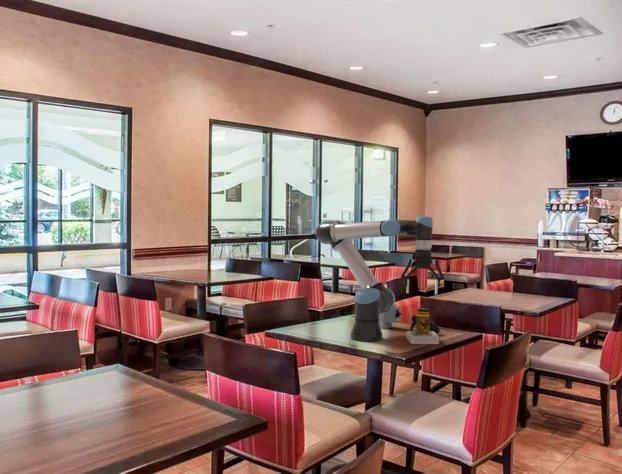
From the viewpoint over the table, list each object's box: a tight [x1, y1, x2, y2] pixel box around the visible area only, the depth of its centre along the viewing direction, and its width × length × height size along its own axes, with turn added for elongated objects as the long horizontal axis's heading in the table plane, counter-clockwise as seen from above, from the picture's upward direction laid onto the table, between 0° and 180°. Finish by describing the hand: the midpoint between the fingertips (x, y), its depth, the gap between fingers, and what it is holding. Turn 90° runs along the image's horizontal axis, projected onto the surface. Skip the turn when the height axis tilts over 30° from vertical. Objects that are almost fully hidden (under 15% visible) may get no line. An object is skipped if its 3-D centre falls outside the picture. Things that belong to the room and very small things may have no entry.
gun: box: [409, 314, 442, 336], centre depth 294 cm, size 3×16×10 cm, turn 89°
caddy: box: [406, 330, 440, 345], centre depth 277 cm, size 13×12×4 cm
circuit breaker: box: [379, 305, 402, 330], centre depth 309 cm, size 8×14×15 cm, turn 58°
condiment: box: [412, 307, 433, 336], centre depth 277 cm, size 7×8×12 cm
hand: (421, 293), depth 279 cm, fingers open, 13 cm apart
